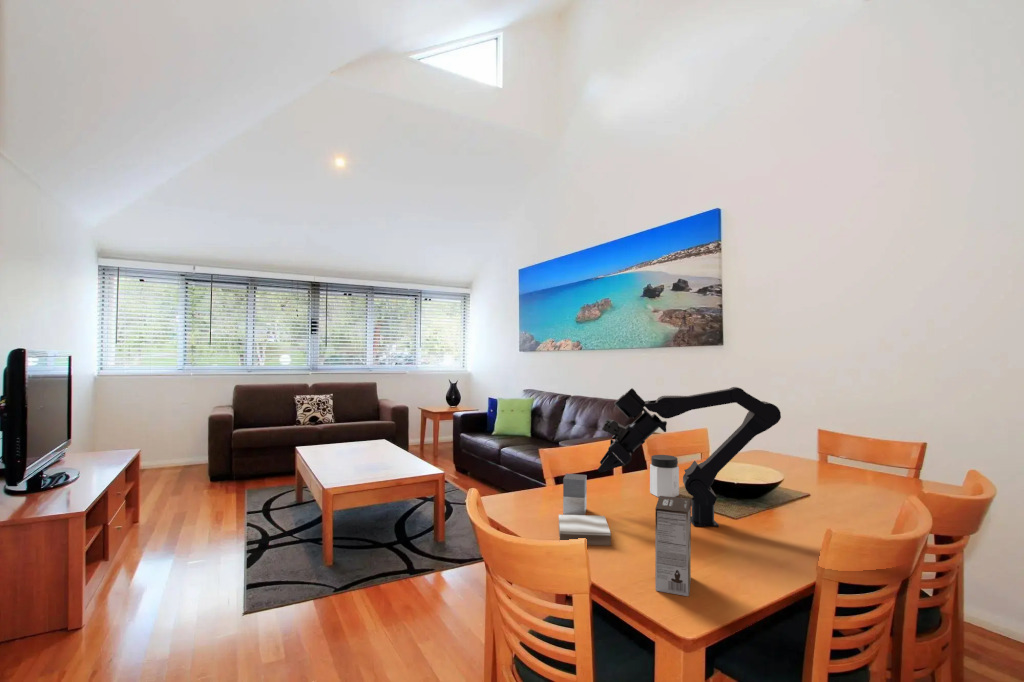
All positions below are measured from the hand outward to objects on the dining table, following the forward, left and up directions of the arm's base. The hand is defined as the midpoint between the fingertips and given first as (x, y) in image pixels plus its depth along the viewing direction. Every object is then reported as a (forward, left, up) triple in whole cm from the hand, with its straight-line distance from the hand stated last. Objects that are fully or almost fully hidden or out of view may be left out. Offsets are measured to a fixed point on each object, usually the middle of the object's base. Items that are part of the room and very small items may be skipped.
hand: (599, 467), depth 138 cm
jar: (+21, -23, -13) cm, 34 cm away
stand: (-17, +6, -13) cm, 22 cm away
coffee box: (-41, -10, -13) cm, 44 cm away
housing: (+1, +7, -13) cm, 15 cm away
